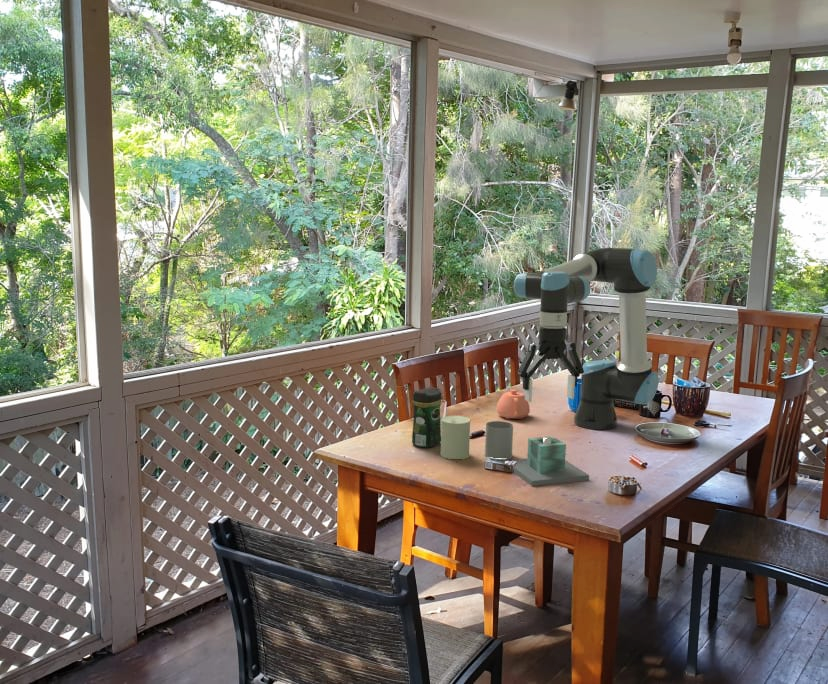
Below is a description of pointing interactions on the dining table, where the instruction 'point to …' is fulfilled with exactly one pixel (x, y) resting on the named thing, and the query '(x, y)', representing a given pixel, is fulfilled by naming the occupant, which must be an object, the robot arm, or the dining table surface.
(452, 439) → the can
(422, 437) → the coffee jar
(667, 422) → the dining table surface
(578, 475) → the board
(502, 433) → the cup
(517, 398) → the sugar bowl
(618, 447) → the dining table surface
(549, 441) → the rod
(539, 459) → the bead
